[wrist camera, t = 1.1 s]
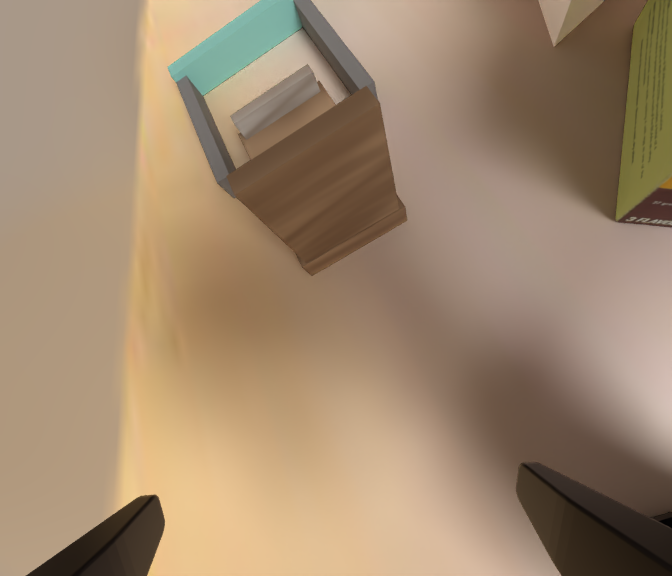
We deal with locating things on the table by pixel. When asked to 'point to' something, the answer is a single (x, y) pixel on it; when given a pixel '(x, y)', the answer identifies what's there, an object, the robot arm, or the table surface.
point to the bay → (243, 48)
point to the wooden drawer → (317, 169)
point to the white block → (565, 15)
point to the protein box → (648, 122)
